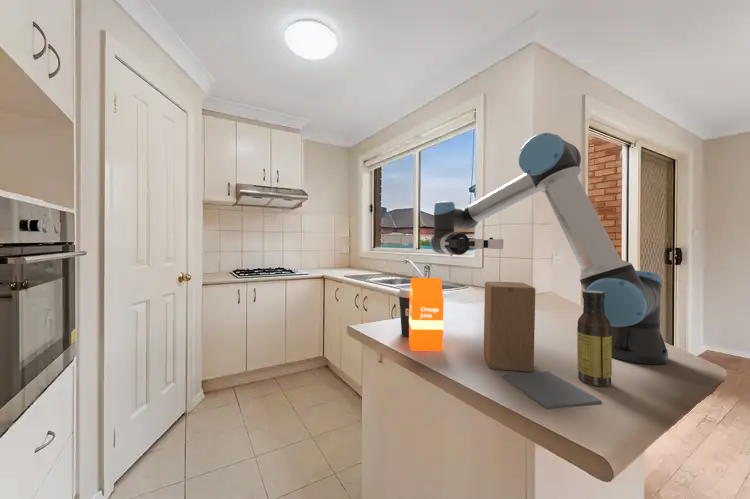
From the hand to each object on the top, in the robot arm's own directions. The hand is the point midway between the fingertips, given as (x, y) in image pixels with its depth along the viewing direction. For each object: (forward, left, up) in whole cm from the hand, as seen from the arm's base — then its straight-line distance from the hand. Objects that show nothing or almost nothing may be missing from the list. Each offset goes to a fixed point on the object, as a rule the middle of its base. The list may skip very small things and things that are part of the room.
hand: (492, 244), depth 86 cm
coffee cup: (+22, -14, -30) cm, 40 cm away
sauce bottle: (-18, +15, -30) cm, 39 cm away
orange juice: (+18, -3, -30) cm, 35 cm away
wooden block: (-2, +7, -30) cm, 31 cm away
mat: (-7, +21, -30) cm, 37 cm away
